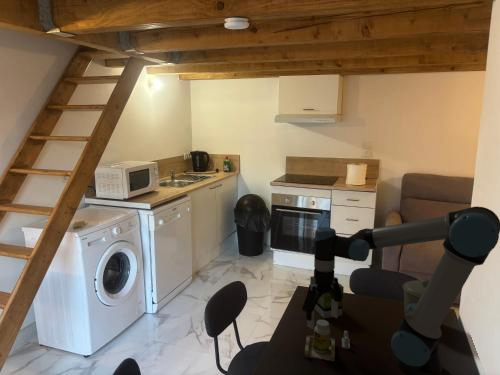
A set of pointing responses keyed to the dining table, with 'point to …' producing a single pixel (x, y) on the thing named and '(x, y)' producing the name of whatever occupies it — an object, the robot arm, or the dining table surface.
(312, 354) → the square tray
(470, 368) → the dining table surface
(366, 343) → the dining table surface
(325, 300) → the tea box
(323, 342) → the pill bottle
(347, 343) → the clip
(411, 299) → the canister
